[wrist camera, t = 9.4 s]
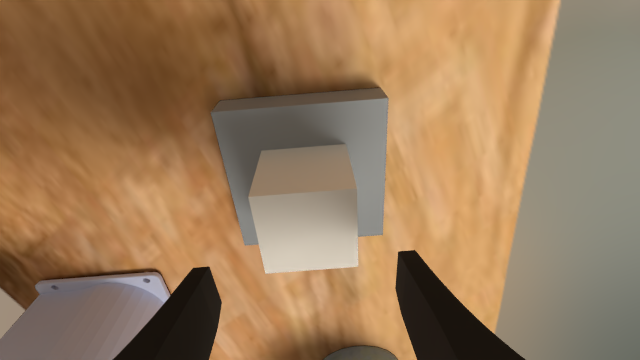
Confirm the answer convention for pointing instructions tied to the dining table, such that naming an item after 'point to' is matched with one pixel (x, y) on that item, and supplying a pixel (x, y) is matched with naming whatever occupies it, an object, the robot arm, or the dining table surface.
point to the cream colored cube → (305, 209)
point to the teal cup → (361, 354)
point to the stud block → (306, 143)
